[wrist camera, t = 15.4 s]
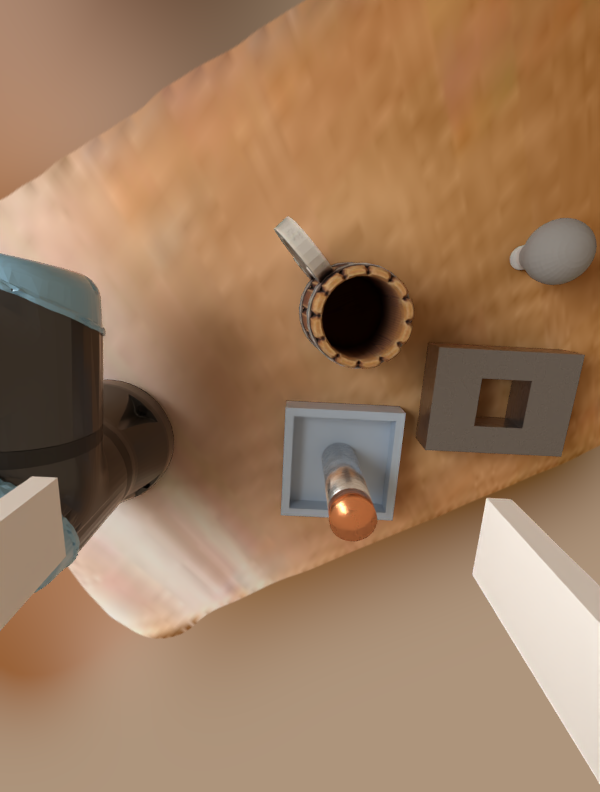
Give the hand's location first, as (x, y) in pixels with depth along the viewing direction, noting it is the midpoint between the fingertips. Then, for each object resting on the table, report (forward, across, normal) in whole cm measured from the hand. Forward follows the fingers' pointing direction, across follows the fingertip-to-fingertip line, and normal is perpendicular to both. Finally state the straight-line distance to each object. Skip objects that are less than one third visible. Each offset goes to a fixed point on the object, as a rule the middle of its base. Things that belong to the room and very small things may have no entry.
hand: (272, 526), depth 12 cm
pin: (+36, +6, -13) cm, 39 cm away
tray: (+37, +6, -13) cm, 39 cm away
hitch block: (+37, +24, -4) cm, 44 cm away
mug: (+37, +4, +7) cm, 38 cm away
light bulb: (+37, +25, +12) cm, 46 cm away
